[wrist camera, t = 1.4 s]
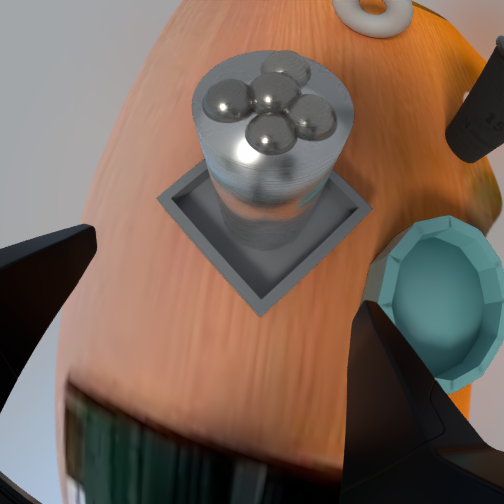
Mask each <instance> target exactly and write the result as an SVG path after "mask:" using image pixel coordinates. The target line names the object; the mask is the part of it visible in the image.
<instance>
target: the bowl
mask: <svg viewBox="0 0 504 504" xmlns="http://www.w3.org/2000/svg"><path fill="white" fill-rule="evenodd" d="M364 300H370V301H374V302H377V303H378V304H379V305H380V307H381V308H382V309H383V310H384V312H385V313H386V314H387V315H388V317H389V318H390V319H391V320H392V322H393V323H394V324H395V326H396V327H397V328H398V329H399V331H400V332H401V333H402V334H403V336H404V337H405V338H406V340H407V341H408V342H409V344H410V345H411V346H412V348H413V349H414V350H415V351H416V353H417V354H418V355H419V357H420V358H421V359H422V361H423V362H424V364H425V365H426V366H427V368H428V369H429V370H430V372H431V373H432V374H433V376H434V377H435V380H437V381H438V383H439V384H440V385H441V387H442V388H443V390H444V391H445V392H446V394H452V393H454V392H456V391H458V390H459V389H461V388H463V387H465V386H466V385H468V384H470V383H471V382H473V381H474V380H476V379H478V378H479V377H481V376H482V375H483V374H484V373H485V371H486V370H487V368H488V366H489V365H490V363H491V362H492V360H493V358H494V357H495V355H496V353H497V351H498V350H499V348H500V346H501V345H502V342H503V339H504V271H503V266H502V262H501V260H500V258H499V257H498V255H497V254H496V252H495V251H494V249H493V248H492V246H491V245H490V244H489V242H488V241H487V239H486V238H485V237H484V235H483V234H482V232H481V231H480V230H479V229H477V228H475V227H473V226H471V225H469V224H467V223H465V222H463V221H461V220H459V219H456V218H454V217H452V216H450V215H446V216H442V217H437V218H433V219H428V220H424V221H419V222H416V223H414V224H413V225H411V226H410V227H408V228H407V229H405V230H404V231H402V232H401V233H399V234H398V235H396V236H395V237H394V238H393V239H392V240H391V242H390V243H389V244H388V245H387V246H386V247H385V248H384V250H383V251H382V252H381V253H380V254H379V255H378V256H377V257H376V258H375V260H374V261H373V262H372V263H371V265H370V267H369V271H368V275H367V280H366V284H365V288H364V292H363V296H362V300H361V304H362V302H363V301H364ZM361 304H360V306H361Z"/></svg>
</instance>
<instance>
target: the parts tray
mask: <svg viewBox="0 0 504 504" xmlns="http://www.w3.org/2000/svg"><path fill="white" fill-rule="evenodd" d="M156 199H157V200H158V201H159V203H160V204H161V205H162V207H163V208H164V209H165V210H166V211H167V213H168V214H169V215H170V216H171V217H172V219H173V220H174V221H175V222H176V223H177V224H178V226H179V227H180V228H181V229H182V230H183V232H184V233H185V234H186V235H187V236H188V237H189V239H190V240H191V241H192V242H193V243H194V244H195V245H196V247H197V248H198V249H199V250H200V251H201V252H202V254H203V255H204V256H205V257H206V258H207V259H208V260H209V262H210V263H211V264H212V265H213V266H214V267H215V268H216V269H217V271H218V272H219V273H220V274H221V275H222V276H223V277H224V279H225V280H226V281H227V282H228V283H229V284H230V285H231V286H232V287H233V289H234V290H235V291H236V292H237V293H238V294H239V295H240V296H241V297H242V299H243V300H244V301H245V302H246V303H247V304H248V305H249V306H250V307H251V308H252V310H253V311H254V312H255V313H256V314H257V315H258V316H259V317H261V316H262V315H263V314H265V313H266V312H267V311H268V310H269V309H270V308H271V307H272V306H273V305H274V304H275V303H277V302H278V301H279V300H280V299H281V298H282V297H283V296H284V295H285V294H286V293H287V292H288V291H290V290H291V289H292V288H293V287H294V286H295V285H296V284H297V283H298V282H299V281H300V280H301V279H302V278H303V277H304V276H306V275H307V274H308V273H309V272H310V271H311V270H312V269H313V268H314V267H315V266H316V265H317V264H318V263H319V262H320V261H321V260H322V259H323V258H324V257H325V256H326V255H327V254H328V253H329V252H330V251H331V250H332V249H333V248H335V247H336V246H337V245H338V244H339V243H340V242H341V241H342V240H343V239H344V238H345V237H346V236H347V235H348V234H349V233H350V232H351V231H352V230H353V229H354V228H355V227H356V226H357V225H358V224H359V223H360V222H361V221H362V219H363V218H364V217H365V216H366V215H367V214H368V213H369V212H370V211H371V210H372V209H373V208H372V207H371V206H370V205H369V204H368V203H367V202H366V201H365V200H364V199H363V198H362V197H361V196H360V195H359V194H358V193H357V192H356V191H355V190H354V189H353V188H352V187H351V186H350V185H349V184H348V183H347V182H346V181H345V180H344V179H343V178H342V177H341V176H340V175H339V174H337V173H336V172H335V171H334V170H332V172H331V174H330V176H329V178H328V180H327V182H326V184H325V186H324V188H323V190H322V192H321V194H320V196H319V198H318V200H317V202H316V204H315V206H314V208H313V210H312V212H311V214H310V216H309V218H308V220H307V222H306V224H305V226H304V228H303V230H302V232H301V233H300V234H299V236H298V237H297V238H296V239H295V240H294V241H292V242H291V243H289V244H288V245H286V246H284V247H282V248H279V249H275V250H256V249H252V248H249V247H247V246H245V245H243V244H241V243H239V242H238V241H237V240H236V239H234V238H233V237H232V235H231V234H230V233H229V232H228V230H227V228H226V226H225V224H224V222H223V218H222V215H221V212H220V208H219V205H218V202H217V198H216V195H215V191H214V188H213V185H212V181H211V178H210V175H209V171H208V168H207V164H206V161H205V159H204V160H203V161H202V162H200V163H199V164H198V165H196V166H195V167H194V168H193V169H191V170H190V171H189V172H188V173H186V174H185V175H184V176H183V177H181V178H180V179H179V180H178V181H176V182H175V183H174V184H173V185H171V186H170V187H169V188H168V189H167V190H165V191H164V192H163V193H162V194H161V195H159V196H158V197H157V198H156Z"/></svg>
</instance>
